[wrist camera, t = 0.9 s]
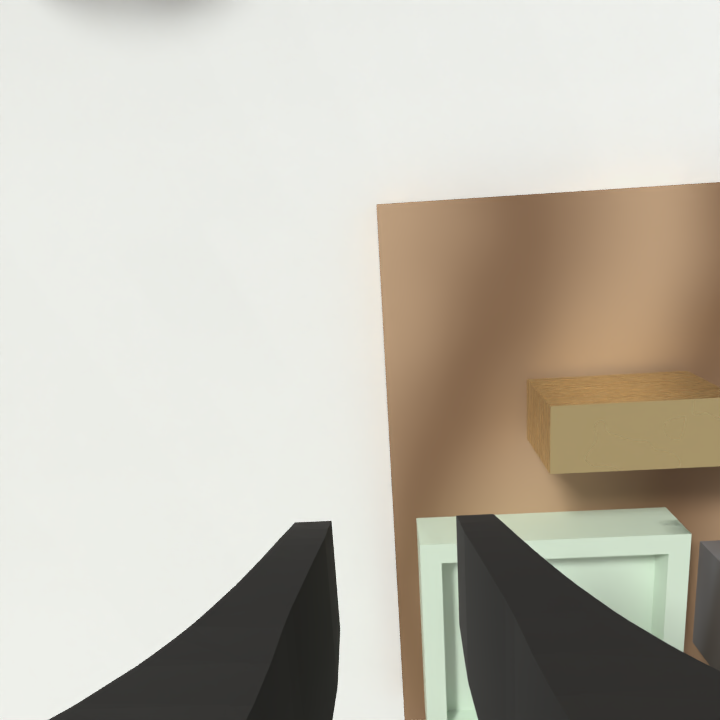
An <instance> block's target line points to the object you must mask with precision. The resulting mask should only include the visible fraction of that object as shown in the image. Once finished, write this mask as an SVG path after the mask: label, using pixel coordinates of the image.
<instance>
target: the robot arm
mask: <svg viewBox="0 0 720 720" xmlns="http://www.w3.org/2000/svg"><path fill="white" fill-rule="evenodd" d="M456 531H457V566H458V600H459V626H460V633H461V640H462V646H463V653H464V660H465V666H466V672H467V679H468V684H469V688H470V691H471V695H472V699H473V703H474V706H475V710H476V714H477V718H478V720H720V671H719V670H717V669H715V668H713V667H711V666H709V665H707V664H705V663H703V662H701V661H699V660H697V659H695V658H693V657H691V656H689V655H688V654H686V653H684V652H682V651H680V650H678V649H676V648H675V647H673V646H671V645H669V644H668V643H666V642H664V641H662V640H661V639H659V638H657V637H656V636H654V635H652V634H651V633H649V632H647V631H646V630H644V629H642V628H641V627H639V626H637V625H635V624H634V623H632V622H630V621H629V620H627V619H626V618H624V617H623V616H621V615H620V614H618V613H616V612H615V611H613V610H612V609H610V608H609V607H608V606H606V605H605V604H603V603H602V602H601V601H599V600H598V599H596V598H595V597H593V596H592V595H591V594H589V593H588V592H586V591H585V590H584V589H582V588H581V587H579V586H578V585H577V584H575V583H574V582H573V581H572V580H570V579H569V578H568V577H566V576H565V575H564V574H562V573H561V572H560V571H559V570H557V569H556V568H555V567H554V566H553V565H551V564H550V563H549V562H548V561H546V560H545V559H544V558H543V557H542V556H540V555H539V554H538V553H537V552H536V551H535V550H533V549H532V548H531V547H530V546H529V545H528V544H527V543H525V542H524V541H523V540H522V539H521V538H520V537H519V536H517V535H516V534H515V533H514V532H513V531H512V530H511V529H510V528H509V527H508V526H506V525H505V524H504V523H503V522H502V521H501V520H500V519H499V518H498V517H496V516H495V515H494V514H481V515H458V516H456ZM339 642H340V622H339V610H338V597H337V585H336V572H335V560H334V547H333V535H332V523H331V521H321V522H298V523H294V524H293V525H292V526H291V528H290V529H289V530H288V531H287V532H286V533H285V534H284V535H283V536H282V537H281V538H280V539H279V540H278V541H277V542H276V544H275V545H274V546H273V547H272V548H271V549H270V550H269V551H268V552H267V553H266V554H265V556H264V557H263V558H262V559H261V560H260V561H259V562H258V563H257V564H256V565H255V566H254V567H253V568H252V569H251V570H250V571H249V572H248V573H247V574H246V575H245V576H244V577H243V579H242V580H241V581H240V582H239V583H238V584H237V585H236V586H235V587H233V588H232V589H231V590H230V591H229V592H228V593H227V594H226V595H225V596H224V597H223V598H221V599H220V600H219V601H218V602H217V603H216V604H215V605H214V606H213V607H212V608H211V609H209V610H208V611H207V612H206V613H205V614H204V615H203V616H202V617H201V618H200V619H198V620H197V621H196V622H195V623H194V624H192V625H191V626H190V627H189V628H187V629H186V630H185V631H184V632H182V633H181V634H180V635H179V636H177V637H176V638H175V639H173V640H172V641H171V642H169V643H168V644H167V645H165V646H164V647H163V648H161V649H160V650H159V651H157V652H156V653H155V654H153V655H152V656H150V657H149V658H148V659H146V660H145V661H143V662H142V663H141V664H139V665H138V666H136V667H135V668H133V669H132V670H130V671H128V672H127V673H125V674H124V675H122V676H120V677H119V678H117V679H116V680H114V681H112V682H111V683H109V684H108V685H106V686H105V687H103V688H101V689H100V690H98V691H97V692H95V693H93V694H92V695H90V696H89V697H87V698H86V699H84V700H82V701H81V702H79V703H78V704H76V705H74V706H72V707H71V708H69V709H67V710H65V711H64V712H62V713H60V714H58V715H56V716H55V717H53V718H51V719H49V720H332V718H333V712H334V706H335V699H336V693H337V685H338V665H339Z"/></svg>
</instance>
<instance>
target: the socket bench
mask: <svg viewBox="0 0 720 720" xmlns="http://www.w3.org/2000/svg"><path fill="white" fill-rule="evenodd" d="M377 221H378V239H379V257H380V276H381V294H382V312H383V331H384V349H385V367H386V386H387V404H388V422H389V441H390V459H391V477H392V496H393V514H394V532H395V551H396V569H397V587H398V606H399V624H400V642H401V661H402V679H403V697H404V716H405V720H426V714H425V699H424V677H423V655H422V632H421V610H420V588H419V566H418V544H417V522H416V518H430V517H453V516H458V515H481V514H494V515H499V514H522V513H544V512H567V511H590V510H613V509H636V508H659V507H666V508H667V509H668V510H669V511H670V512H671V513H672V514H673V515H674V516H675V517H676V518H677V519H678V520H679V521H680V522H681V523H682V525H683V526H684V527H685V528H686V529H687V530H688V531H689V532H690V533H691V534H692V535H691V550H690V564H689V579H688V593H687V608H686V622H685V637H684V651H683V652H684V653H686V654H688V655H689V656H691V657H693V658H695V659H697V660H699V661H701V662H703V663H705V664H707V665H709V666H711V667H713V668H715V669H717V670H719V671H720V466H716V467H694V468H672V469H651V470H629V471H608V472H586V473H564V474H550V473H549V472H548V470H547V469H546V467H545V466H544V464H543V463H542V461H541V460H540V458H539V457H538V455H537V454H536V452H535V451H534V449H533V448H532V446H531V445H530V443H529V441H528V440H527V379H542V378H561V377H580V376H599V375H618V374H637V373H656V372H675V371H689V372H691V373H693V374H695V375H697V376H699V377H700V378H702V379H704V380H706V381H708V382H710V383H712V384H714V385H716V386H718V387H720V182H716V183H701V184H685V185H670V186H655V187H639V188H624V189H608V190H593V191H577V192H562V193H546V194H531V195H516V196H500V197H485V198H469V199H454V200H438V201H423V202H407V203H392V204H377Z"/></svg>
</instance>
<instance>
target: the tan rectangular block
mask: <svg viewBox="0 0 720 720" xmlns="http://www.w3.org/2000/svg"><path fill="white" fill-rule="evenodd" d="M527 440H528V441H529V443H530V445H531V446H532V448H533V449H534V451H535V452H536V454H537V455H538V457H539V458H540V460H541V461H542V463H543V464H544V466H545V467H546V469H547V470H548V472H549V473H550V474H564V473H586V472H608V471H629V470H651V469H672V468H694V467H716V466H720V387H718V386H716V385H714V384H712V383H710V382H708V381H706V380H704V379H702V378H700V377H699V376H697V375H695V374H693V373H691V372H689V371H675V372H656V373H637V374H618V375H599V376H580V377H561V378H542V379H527Z"/></svg>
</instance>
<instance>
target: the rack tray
mask: <svg viewBox="0 0 720 720" xmlns="http://www.w3.org/2000/svg"><path fill="white" fill-rule="evenodd" d="M495 516H496V517H498V518H499V519H500V520H501V521H502V522H503V523H504V524H505V525H506V526H508V527H509V528H510V529H511V530H512V531H513V532H514V533H515V534H516V535H517V536H519V537H520V538H521V539H522V540H523V541H524V542H525V543H527V544H528V545H529V546H530V547H531V548H532V549H533V550H535V551H536V552H537V553H538V554H539V555H540V556H542V557H543V558H544V559H545V560H546V561H548V562H549V563H550V564H551V565H553V566H554V567H555V568H556V569H557V570H559V571H560V572H561V573H562V574H564V575H565V576H566V577H568V578H569V579H570V580H572V581H573V582H574V583H575V584H577V585H578V586H579V587H581V588H582V589H584V590H585V591H586V592H588V593H589V594H591V595H592V596H593V597H595V598H596V599H598V600H599V601H601V602H602V603H603V604H605V605H606V606H608V607H609V608H610V609H612V610H613V611H615V612H616V613H618V614H620V615H621V616H623V617H624V618H626V619H627V620H629V621H630V622H632V623H634V624H635V625H637V626H639V627H641V628H642V629H644V630H646V631H647V632H649V633H651V634H652V635H654V636H656V637H657V638H659V639H661V640H662V641H664V642H666V643H668V644H669V645H671V646H673V647H675V648H676V649H678V650H680V651H682V652H683V651H684V637H685V622H686V608H687V593H688V579H689V564H690V550H691V535H692V534H691V533H690V532H689V531H688V530H687V529H686V528H685V527H684V526H683V525H682V523H681V522H680V521H679V520H678V519H677V518H676V517H675V516H674V515H673V514H672V513H671V512H670V511H669V510H668V509H667V508H666V507H659V508H636V509H613V510H590V511H567V512H544V513H522V514H499V515H495ZM416 522H417V544H418V566H419V588H420V610H421V632H422V655H423V677H424V699H425V714H426V720H478V718H477V714H476V710H475V706H474V703H473V699H472V695H471V691H470V688H469V684H468V679H467V672H466V666H465V660H464V653H463V646H462V640H461V633H460V626H459V600H458V566H457V531H456V516H453V517H430V518H416Z"/></svg>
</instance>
